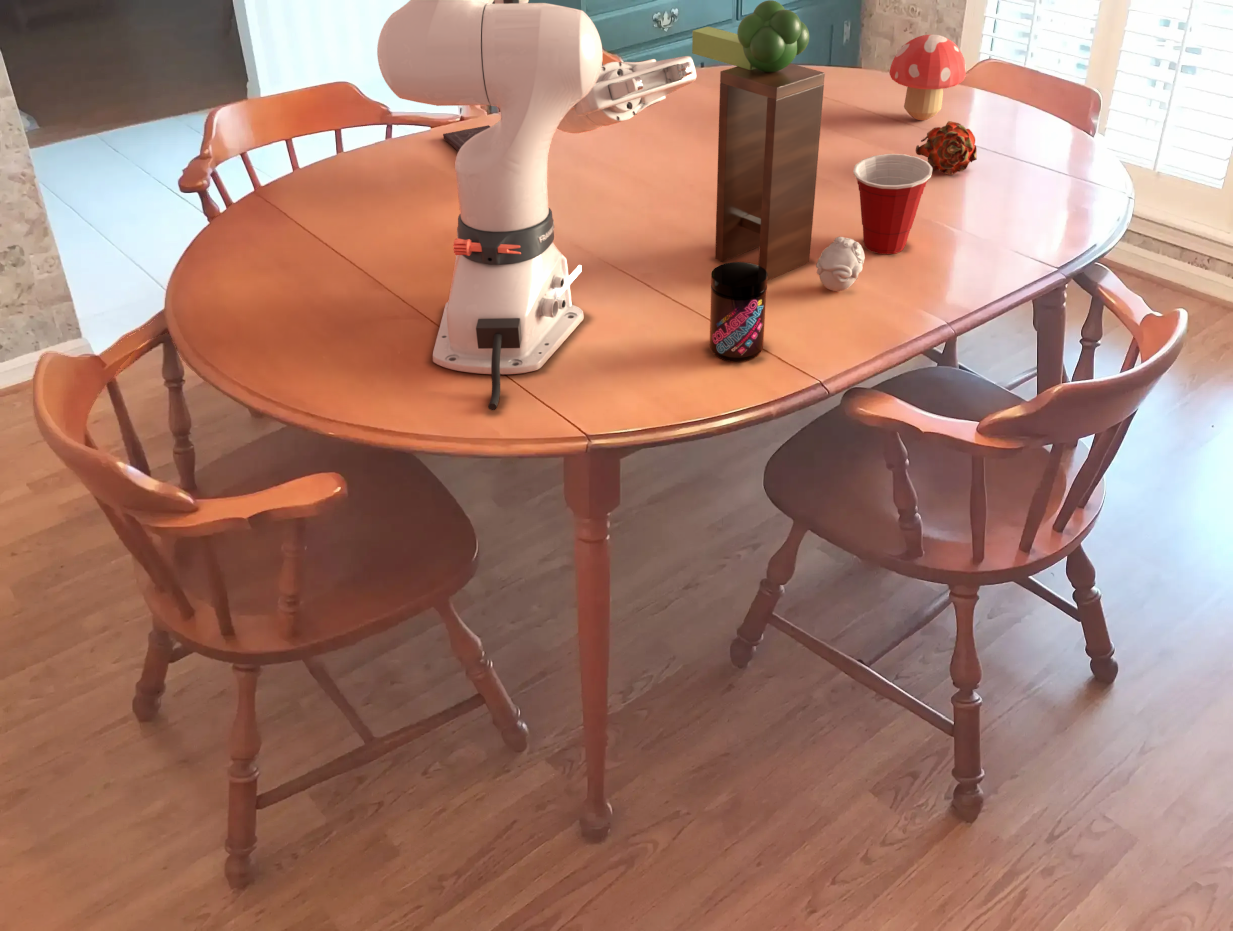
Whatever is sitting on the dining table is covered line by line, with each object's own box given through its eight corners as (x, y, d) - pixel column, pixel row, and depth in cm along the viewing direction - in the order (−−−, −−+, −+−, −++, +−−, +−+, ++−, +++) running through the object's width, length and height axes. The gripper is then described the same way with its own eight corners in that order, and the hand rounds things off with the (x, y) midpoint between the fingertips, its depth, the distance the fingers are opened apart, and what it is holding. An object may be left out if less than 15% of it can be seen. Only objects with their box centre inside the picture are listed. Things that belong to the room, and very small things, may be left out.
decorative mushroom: (945, 136, 196) (958, 49, 187) (873, 125, 201) (882, 40, 193) (967, 114, 205) (981, 31, 196) (898, 104, 210) (908, 22, 202)
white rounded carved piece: (871, 287, 149) (877, 239, 145) (840, 304, 145) (845, 256, 141) (834, 273, 152) (839, 226, 148) (803, 290, 149) (807, 242, 144)
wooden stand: (809, 262, 156) (825, 72, 140) (765, 281, 151) (776, 88, 135) (758, 241, 162) (768, 57, 146) (714, 259, 157) (720, 71, 142)
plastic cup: (829, 246, 160) (837, 166, 153) (877, 225, 165) (886, 147, 158) (889, 270, 153) (899, 187, 146) (936, 247, 158) (949, 167, 151)
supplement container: (698, 354, 136) (699, 277, 129) (727, 332, 140) (729, 257, 134) (745, 369, 132) (749, 292, 126) (773, 346, 137) (778, 270, 130)
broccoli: (817, 70, 141) (822, 0, 136) (769, 85, 136) (773, 13, 131) (723, 45, 152) (724, -21, 147) (676, 58, 147) (676, -10, 142)
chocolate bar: (488, 125, 204) (526, 154, 191) (489, 130, 204) (527, 160, 191) (443, 134, 201) (478, 164, 188) (443, 139, 201) (479, 169, 188)
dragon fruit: (957, 194, 178) (924, 178, 189) (999, 158, 177) (964, 144, 187) (931, 154, 174) (899, 140, 185) (974, 117, 173) (939, 105, 183)
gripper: (551, 88, 163) (599, 70, 152) (658, 58, 173) (710, 38, 161) (564, 131, 165) (612, 116, 154) (668, 98, 175) (722, 81, 163)
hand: (663, 75), depth 157 cm, fingers open, 8 cm apart
